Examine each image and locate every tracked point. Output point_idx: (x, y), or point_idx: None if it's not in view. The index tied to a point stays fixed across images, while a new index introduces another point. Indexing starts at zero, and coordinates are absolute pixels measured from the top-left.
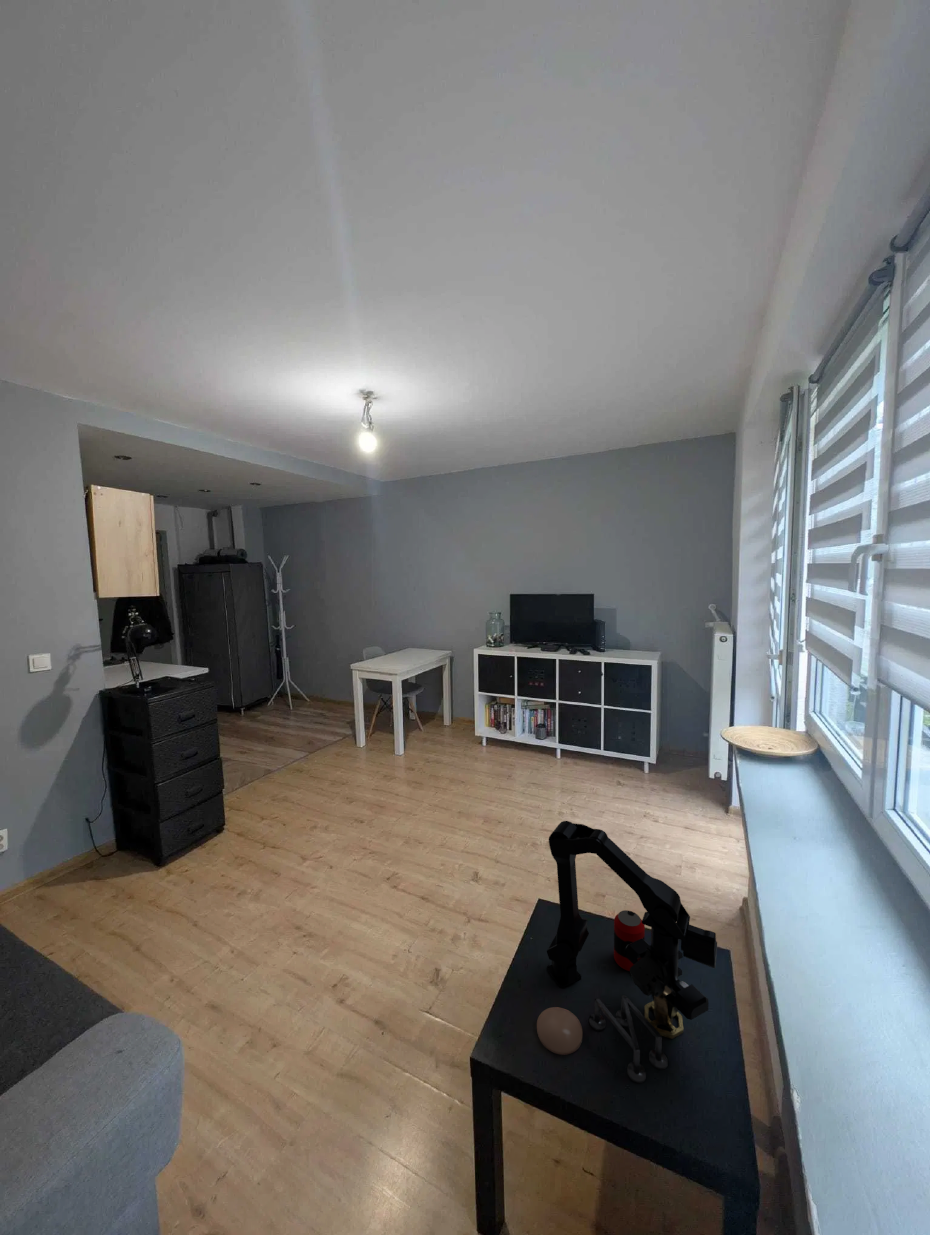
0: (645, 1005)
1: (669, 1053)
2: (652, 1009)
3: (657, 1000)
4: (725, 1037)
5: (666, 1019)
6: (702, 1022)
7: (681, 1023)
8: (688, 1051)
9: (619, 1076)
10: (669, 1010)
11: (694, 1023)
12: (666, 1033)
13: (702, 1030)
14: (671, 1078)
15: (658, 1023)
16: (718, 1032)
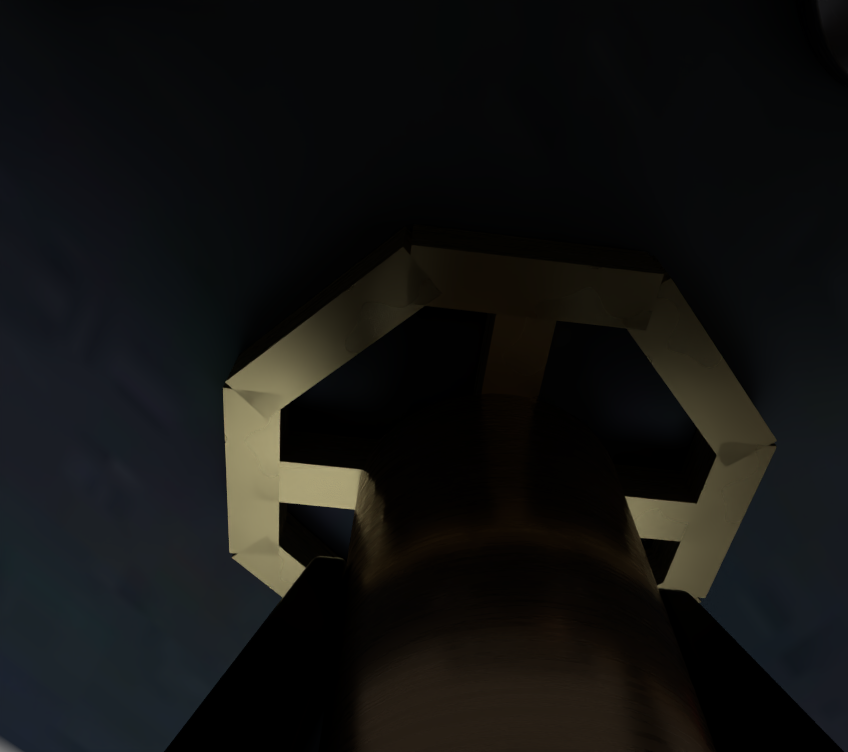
0: (767, 450)
1: (80, 130)
2: (663, 478)
3: (566, 739)
4: (41, 743)
5: (374, 506)
6: None
7: None
8: (22, 384)
9: None
10: (262, 713)
11: None
12: (291, 342)
13: (176, 667)
14: None
15: (478, 380)
16: (102, 739)
